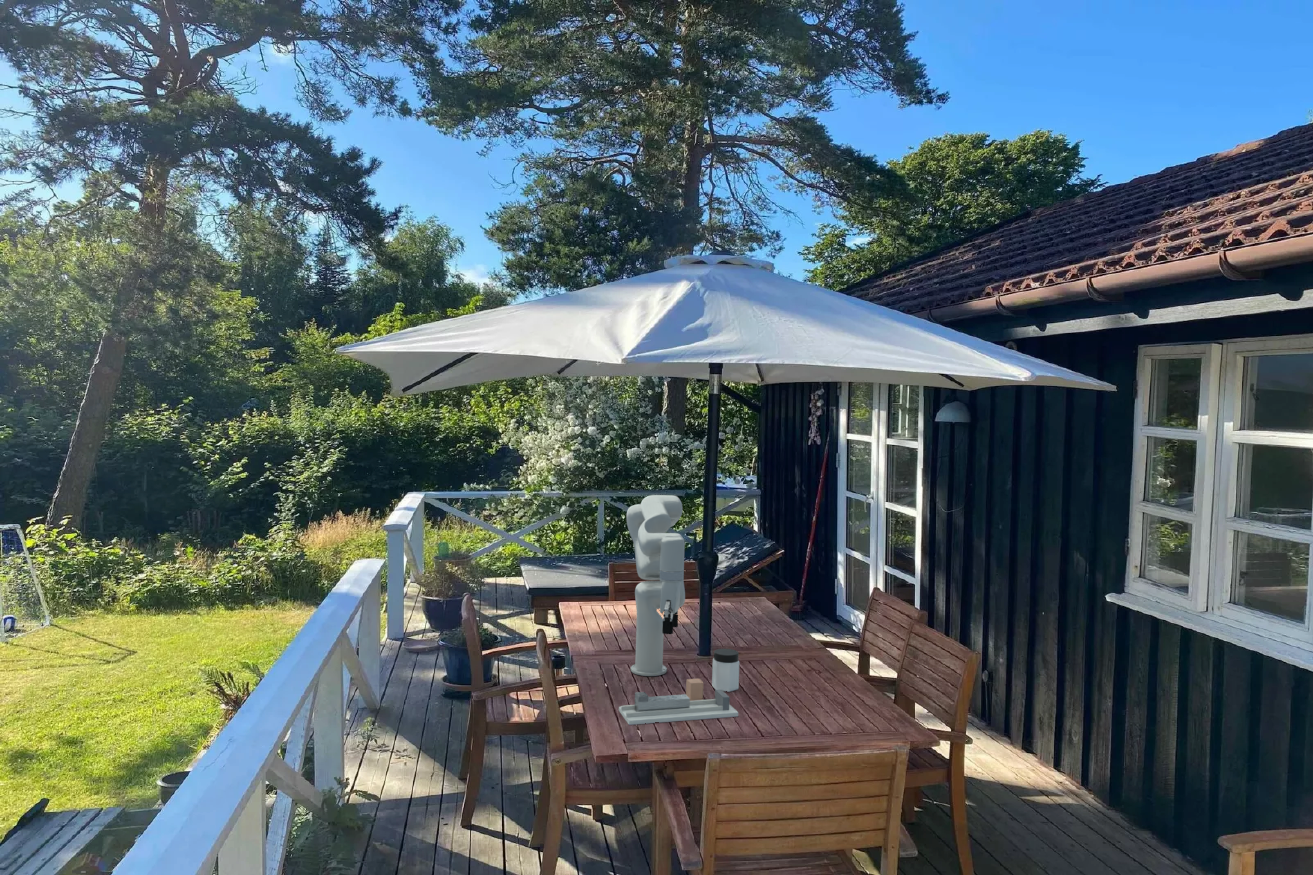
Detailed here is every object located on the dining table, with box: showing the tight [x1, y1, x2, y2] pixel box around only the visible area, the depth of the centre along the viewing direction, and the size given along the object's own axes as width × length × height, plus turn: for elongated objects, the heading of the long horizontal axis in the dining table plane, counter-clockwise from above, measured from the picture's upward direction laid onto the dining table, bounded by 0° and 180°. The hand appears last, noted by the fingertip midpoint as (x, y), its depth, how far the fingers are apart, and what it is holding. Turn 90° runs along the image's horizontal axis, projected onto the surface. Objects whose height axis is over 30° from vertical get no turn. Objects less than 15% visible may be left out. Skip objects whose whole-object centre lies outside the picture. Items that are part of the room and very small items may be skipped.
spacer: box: [685, 678, 704, 701], centre depth 272 cm, size 4×4×6 cm
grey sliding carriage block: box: [634, 691, 690, 712], centre depth 258 cm, size 4×16×5 cm, turn 107°
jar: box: [711, 648, 740, 693], centre depth 285 cm, size 9×8×12 cm
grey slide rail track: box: [618, 689, 739, 726], centre depth 259 cm, size 12×34×5 cm, turn 107°
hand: (670, 630), depth 270 cm, fingers open, 9 cm apart
